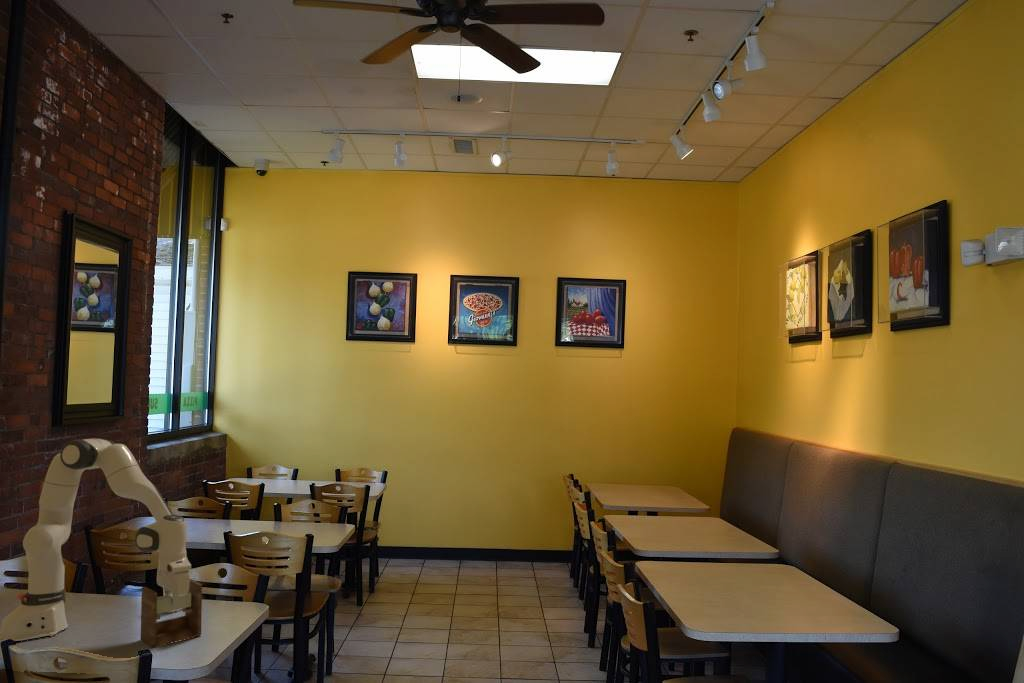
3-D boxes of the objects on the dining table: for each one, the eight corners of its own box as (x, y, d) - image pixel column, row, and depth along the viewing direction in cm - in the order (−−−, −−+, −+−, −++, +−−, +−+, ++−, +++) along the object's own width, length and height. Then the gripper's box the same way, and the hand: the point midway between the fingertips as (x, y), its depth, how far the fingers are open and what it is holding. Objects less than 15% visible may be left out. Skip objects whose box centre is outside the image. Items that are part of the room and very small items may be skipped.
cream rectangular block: (155, 614, 257) (155, 600, 257) (151, 611, 260) (151, 598, 260) (191, 606, 266) (191, 593, 266) (186, 603, 269) (186, 591, 269)
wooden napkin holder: (152, 648, 253) (153, 593, 254) (140, 640, 261) (141, 587, 261) (201, 636, 264) (202, 584, 265) (188, 628, 272) (189, 578, 273)
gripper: (152, 559, 269) (151, 598, 268) (174, 569, 254) (173, 611, 254) (170, 556, 273) (169, 594, 273) (193, 566, 259) (192, 607, 258)
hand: (171, 602), depth 263 cm, fingers closed on cream rectangular block, 4 cm apart
